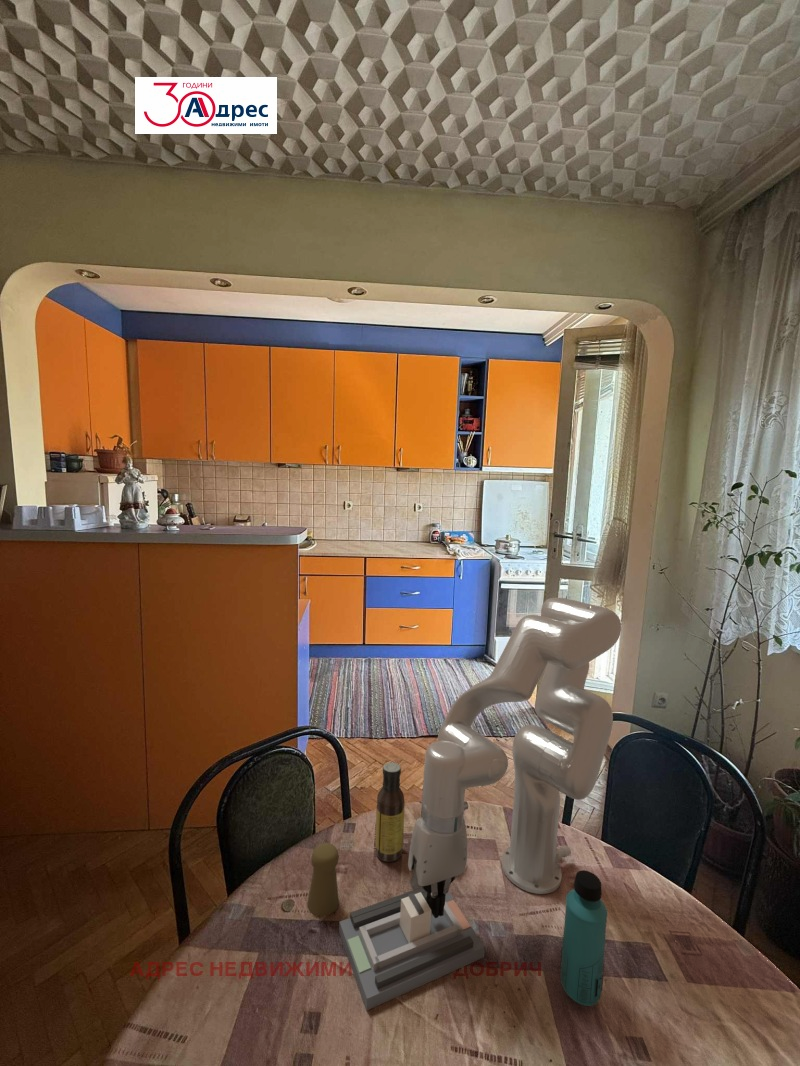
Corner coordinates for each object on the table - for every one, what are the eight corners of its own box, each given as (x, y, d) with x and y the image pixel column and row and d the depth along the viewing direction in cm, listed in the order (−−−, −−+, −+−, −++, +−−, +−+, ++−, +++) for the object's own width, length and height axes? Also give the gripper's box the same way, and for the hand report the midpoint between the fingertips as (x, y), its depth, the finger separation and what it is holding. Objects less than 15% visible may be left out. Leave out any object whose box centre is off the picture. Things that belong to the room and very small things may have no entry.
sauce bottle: (408, 854, 103) (413, 768, 101) (387, 868, 98) (392, 779, 97) (388, 837, 107) (393, 756, 106) (368, 851, 103) (373, 766, 102)
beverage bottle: (597, 1025, 70) (608, 903, 69) (553, 999, 74) (563, 882, 73) (603, 988, 76) (614, 874, 75) (562, 965, 80) (571, 856, 78)
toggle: (419, 917, 85) (420, 890, 84) (429, 936, 81) (431, 908, 81) (399, 924, 83) (401, 897, 83) (409, 945, 79) (411, 916, 79)
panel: (443, 893, 93) (444, 878, 93) (483, 957, 80) (485, 940, 80) (338, 931, 83) (339, 915, 83) (366, 1010, 71) (367, 991, 71)
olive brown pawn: (332, 919, 86) (335, 864, 85) (302, 912, 87) (304, 857, 86) (342, 893, 92) (345, 840, 91) (314, 886, 93) (316, 835, 92)
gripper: (465, 792, 89) (458, 882, 90) (395, 810, 82) (389, 907, 84) (488, 817, 82) (481, 914, 83) (414, 839, 76) (407, 943, 77)
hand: (435, 910), depth 83 cm, fingers closed
